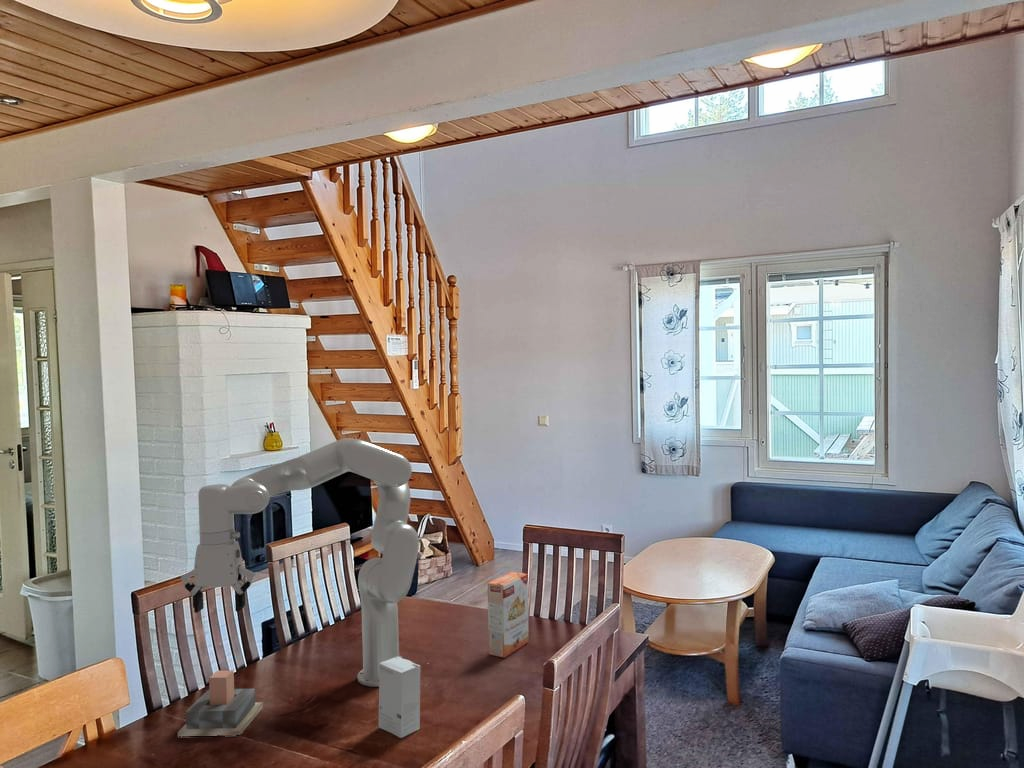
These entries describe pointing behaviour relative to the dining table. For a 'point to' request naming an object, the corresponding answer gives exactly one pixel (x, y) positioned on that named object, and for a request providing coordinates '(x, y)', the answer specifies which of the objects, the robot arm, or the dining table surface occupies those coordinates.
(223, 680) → the peg
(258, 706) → the socket block
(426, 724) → the dining table surface
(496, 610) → the cracker box
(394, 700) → the skincare box
